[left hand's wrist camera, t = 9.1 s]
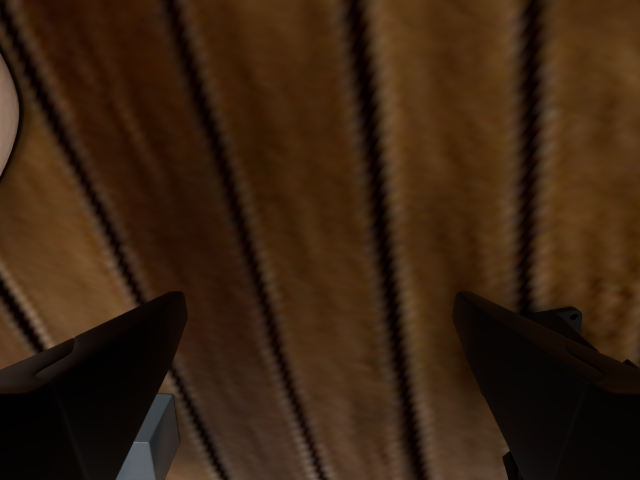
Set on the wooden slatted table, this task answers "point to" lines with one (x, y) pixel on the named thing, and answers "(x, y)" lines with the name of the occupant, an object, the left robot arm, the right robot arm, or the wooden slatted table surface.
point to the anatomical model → (7, 113)
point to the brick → (153, 443)
